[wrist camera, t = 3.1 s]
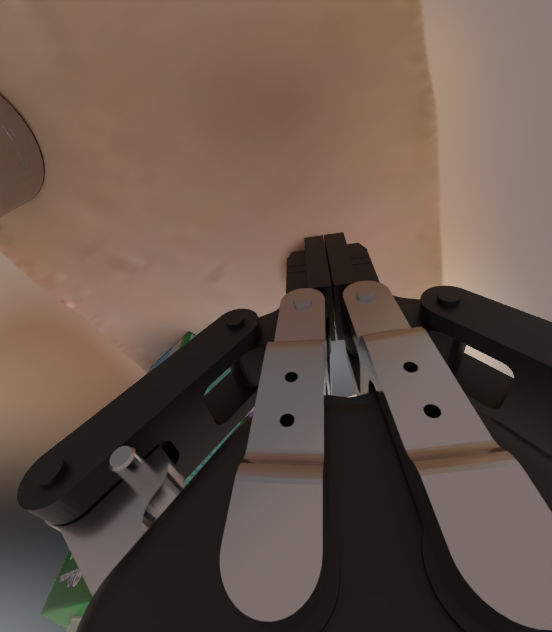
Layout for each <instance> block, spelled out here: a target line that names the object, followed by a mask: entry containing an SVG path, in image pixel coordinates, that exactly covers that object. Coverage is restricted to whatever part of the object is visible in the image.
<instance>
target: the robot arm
mask: <svg viewBox="0 0 552 632" xmlns="http://www.w3.org/2000/svg"><path fill="white" fill-rule="evenodd" d="M43 176H44V169H43V160H42V157H41V154H40V151H39V148H38V145H37V143H36V141H35V139H34V137H33V135H32V133H31V131H30V130H29V128H28V127H27V125H26V124H25V122H24V121H23V119H22V118H21V117H20V115H19V114H18V113H17V112H16V111H15V110H14V109H13V107H12V106H11V105H10V104H9V103H8V102H7V101H6V100H5V99H4V98H3V97H2V96H0V217H1V216H2V215H4V214H6V213H8V212H10V211H11V210H13V209H15V208H17V207H19V206H20V205H22V204H24V203H26V202H28V201H29V200H31V199H33V198H34V196H35V195H36V194H37V193H38V192H39V190H40V188H41V186H42V184H43ZM304 242H305V250H304V251H297V252H292V253H291V255H290V256H289V257H288V259H287V279H286V295H285V296H284V297H283V298H282V300H281V303H280V308H279V309H277V310H276V311H274V312H272V313H270V314H267V315H264V316H261V317H258V316H257V314H256V313H255V312H254V311H252V310H249V309H236V310H232V311H229V312H227V313H225V314H224V315H222V316H221V317H219V318H218V319H217V320H216V321H214V322H213V323H212V324H210V325H209V326H208V327H207V328H205V329H204V330H203V331H201V332H200V333H199V334H198V335H196V336H195V337H194V338H193V339H191V340H190V341H189V342H187V343H186V344H185V345H184V346H182V347H181V348H180V349H178V350H177V351H176V352H175V353H173V354H172V355H171V356H169V357H168V358H167V359H166V360H164V361H163V362H162V363H160V364H159V365H158V366H157V367H155V368H154V369H153V370H152V371H150V372H149V373H148V374H146V375H145V376H144V377H143V378H141V379H140V380H139V381H138V382H136V383H135V384H134V385H132V386H131V387H130V388H128V389H127V390H126V391H125V392H123V393H122V394H121V395H119V396H118V397H117V398H116V399H114V400H113V401H112V402H111V403H109V404H108V405H107V406H105V407H104V408H103V409H102V410H100V411H99V412H98V413H97V414H95V415H94V416H93V417H91V418H90V419H89V420H87V421H86V422H85V423H84V424H82V425H81V426H80V427H79V428H77V429H76V430H75V431H73V432H72V433H71V434H69V435H68V436H67V437H66V438H65V439H63V440H62V441H61V442H59V443H58V444H57V445H55V446H54V447H53V448H52V449H50V450H49V451H48V452H46V453H45V454H44V455H43V456H41V457H40V458H39V459H38V460H37V461H36V462H35V463H34V464H33V465H32V466H31V467H30V469H29V470H28V471H27V472H26V474H25V475H24V477H23V479H22V481H21V483H20V485H19V489H18V493H17V500H18V503H19V505H20V506H21V507H22V508H24V509H25V510H27V511H29V512H31V513H33V514H34V515H36V516H38V517H40V518H42V519H44V520H45V522H46V523H47V524H48V525H50V526H51V527H53V528H55V529H57V530H59V531H61V532H62V534H63V536H64V538H65V540H66V542H67V545H68V547H69V549H70V551H71V553H72V555H73V557H74V559H75V561H76V563H77V565H78V568H79V570H80V572H81V574H82V576H83V578H84V580H85V582H86V584H87V586H88V588H89V590H90V592H91V595H92V599H91V601H90V603H89V604H88V606H87V608H86V610H85V612H84V614H83V616H82V618H81V621H80V623H79V625H78V627H77V630H76V632H552V322H549V321H547V320H544V319H541V318H539V317H536V316H533V315H531V314H528V313H525V312H523V311H520V310H518V309H515V308H512V307H509V306H507V305H504V304H501V303H499V302H496V301H494V300H491V299H488V298H485V297H483V296H480V295H477V294H475V293H472V292H469V291H467V290H464V289H461V288H458V287H452V286H437V287H432V288H430V289H428V290H426V291H425V292H423V294H422V295H421V299H420V300H419V299H408V298H401V297H397V296H393V295H392V293H391V292H390V290H389V288H388V287H387V286H385V285H384V284H382V283H380V282H379V279H378V277H377V274H376V272H375V269H374V267H373V264H372V262H371V259H370V257H369V254H368V251H367V249H366V248H365V247H363V246H362V245H361V244H359V243H354V244H346V240H345V237H344V234H343V232H341V233H334V234H328V235H324V240H323V235H321V236H314V237H308V238H304ZM324 242H325V246H324ZM334 321H335V325H334ZM335 327H336V333H337V339H338V340H344V341H345V346H346V359H347V363H348V366H349V369H350V373H351V376H352V380H353V383H354V387H355V390H356V394H357V396H356V397H350V398H348V397H340V396H333V395H332V390H331V358H330V354H331V351H332V348H331V341H336V338H335ZM466 345H468V346H470V347H472V348H474V349H476V350H478V351H480V352H482V353H484V354H486V355H488V356H491V357H492V358H494V359H496V360H498V361H500V362H502V363H504V364H505V365H507V366H508V367H509V368H510V369H511V370H512V372H513V374H514V378H512V377H510V376H508V375H506V374H504V373H502V372H500V371H498V370H496V369H494V368H492V367H490V366H489V365H487V364H485V363H483V362H481V361H479V360H477V359H475V358H473V357H471V356H469V355H467V354H465V353H464V350H465V347H466ZM228 368H230V369H231V371H230V372H229V373H228V374H227V375H226V376H225V377H224V378H223V379H222V380H221V381H220V382H219V383H218V384H216V385H215V386H214V387H213V388H212V389H211V390H210V391H209V392H208V393H207V394H206V395H205V396H204V394H205V392H206V390H207V388H208V387H209V386H210V385H211V384H212V383H213V382H214V381H215V380H216V379H218V378H219V377H220V376H221V375H222V374H223V373H224V372H225V371H226V370H227V369H228ZM254 406H255V407H254ZM253 407H254V413H253V415H252V416H251V417H249V418H248V419H247V420H245V421H244V422H243V423H242V424H241V425H239V426H238V427H237V428H236V429H235V430H234V431H233V432H232V434H231V435H230V436H229V437H228V438H227V439H226V440H225V442H224V443H223V444H222V445H221V446H220V447H219V448H218V450H217V451H216V452H215V453H214V454H213V455H212V456H211V458H210V459H209V460H208V461H207V462H206V463H205V464H204V466H203V467H202V468H201V469H200V470H199V471H198V472H197V474H196V475H195V476H194V477H193V478H192V479H191V480H190V482H189V483H188V484H187V485H186V486H185V487H184V481H185V480H186V479H187V478H188V476H189V475H190V474H191V473H192V472H193V471H194V470H195V469H196V468H197V467H198V466H199V465H200V464H201V463H202V462H203V460H204V459H205V458H206V457H207V456H208V455H209V454H210V453H211V452H212V451H213V450H214V449H215V448H216V447H217V446H218V444H219V443H220V442H221V441H222V440H223V439H224V438H225V437H226V436H227V435H228V434H229V433H230V432H231V431H232V429H233V428H234V427H235V426H236V425H237V424H238V423H239V422H240V421H241V420H242V419H243V418H244V417H245V416H246V415H247V413H248V412H249V411H250V410H251V409H252V408H253Z"/></svg>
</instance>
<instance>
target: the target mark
mask: <svg viewBox="0 0 552 632" xmlns="http://www.w3.org/2000/svg"><path fill="white" fill-rule="evenodd" d="M335 338H336V341H331V348H332V351H331V354H330V358H331V390H332V395H333V396H340V397H348V396H352V395H354V394H356V390H355V387H354V383H353V380H352V376H351V373H350V369H349V366H348V363H347V359H346V346H345V341H344V340H338V339H337V333H336V327H335Z"/></svg>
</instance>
